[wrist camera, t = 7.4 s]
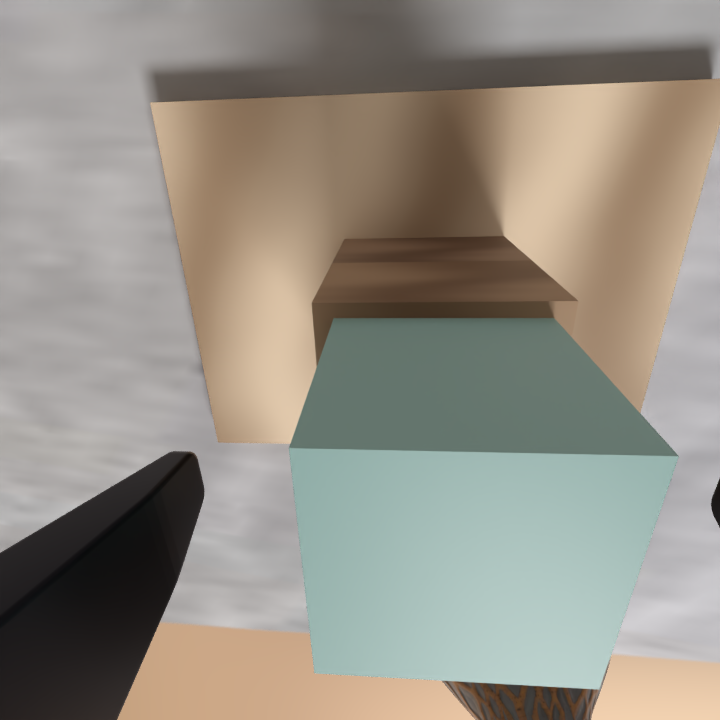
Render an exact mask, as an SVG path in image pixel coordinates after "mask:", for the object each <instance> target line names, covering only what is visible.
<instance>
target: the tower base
mask: <svg viewBox="0 0 720 720" xmlns="http://www.w3.org/2000/svg"><path fill="white" fill-rule="evenodd" d="M518 260H531V259H530V258H529V257H528V256H526V255H525V254H524V253H523V252H522V251H521V250H519V249H518V248H517V247H516V246H515V245H514V244H513V243H511V242H510V241H509V240H508V239H507V238H506V237H505V236H482V237H427V238H371V239H344V241H343V243H342V245H341V247H340V249H339V251H338V252H337V254H336V256H335V258H334V260H333V262H332V263H375V262H447V261H518Z"/></svg>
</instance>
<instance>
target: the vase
mask: <svg viewBox="0 0 720 720" xmlns="http://www.w3.org/2000/svg"><path fill="white" fill-rule="evenodd" d="M610 658H611V657H610ZM609 662H610V660H609ZM608 666H609V663H608ZM608 666H607V669H606V672H605V675H604V677H603V680H602V683H601V686H600V689H581V688H564V687H546V686H529V685H511V684H494V683H476V682H459V681H443V682H444V684H445V685H446V686H447V687H448V689H449V690H450V691H451V692H452V693H453V695H454V696H455V697H456V698H457V699H458V700H459V702H460V703H461V704H462V705H463V706H464V707H465V708H466V709H467V711H468V712H469V713H470V714H471V715H472V716H473V717H474V718H475V719H476V720H591V716H592V713H593V709H594V706H595V704H596V701H597V699H598V696H599V693H600V691H601V688H602V685H603V682H604V679H605V676H606V673H607V670H608Z"/></svg>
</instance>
